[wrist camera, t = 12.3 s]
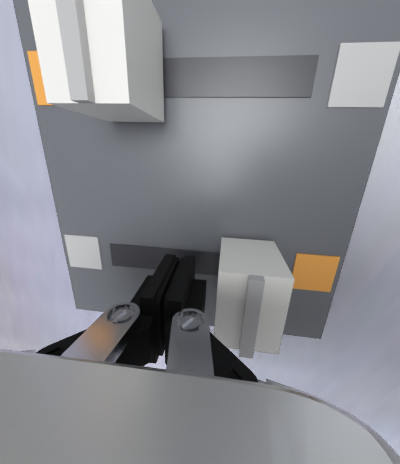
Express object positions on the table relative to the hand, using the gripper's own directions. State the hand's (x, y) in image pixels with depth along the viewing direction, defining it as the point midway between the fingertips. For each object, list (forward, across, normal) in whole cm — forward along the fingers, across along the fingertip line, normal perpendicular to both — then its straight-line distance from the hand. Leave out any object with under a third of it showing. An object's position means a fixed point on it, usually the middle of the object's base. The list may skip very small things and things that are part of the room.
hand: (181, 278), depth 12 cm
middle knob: (+2, +3, -10) cm, 11 cm away
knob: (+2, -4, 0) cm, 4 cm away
